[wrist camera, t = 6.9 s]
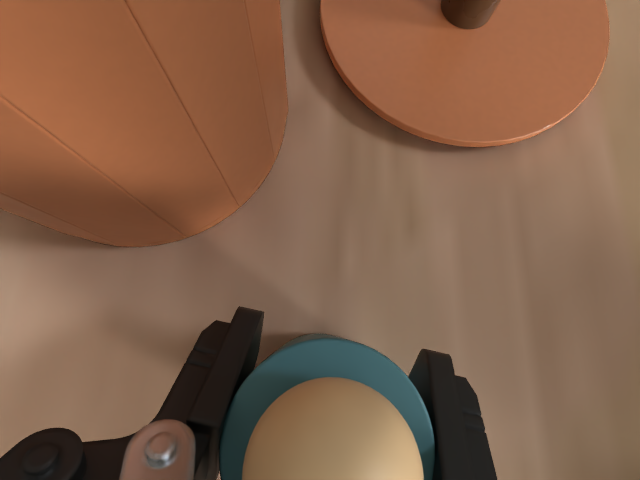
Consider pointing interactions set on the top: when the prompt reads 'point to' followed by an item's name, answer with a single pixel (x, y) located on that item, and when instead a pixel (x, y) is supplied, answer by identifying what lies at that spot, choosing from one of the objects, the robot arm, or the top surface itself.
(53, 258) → the top surface
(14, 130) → the pot
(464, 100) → the lid
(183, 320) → the top surface
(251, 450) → the toy doll
